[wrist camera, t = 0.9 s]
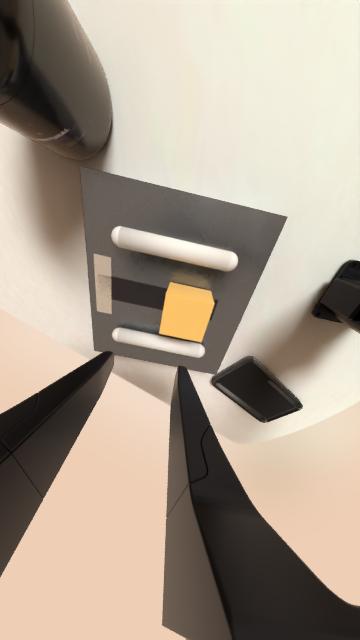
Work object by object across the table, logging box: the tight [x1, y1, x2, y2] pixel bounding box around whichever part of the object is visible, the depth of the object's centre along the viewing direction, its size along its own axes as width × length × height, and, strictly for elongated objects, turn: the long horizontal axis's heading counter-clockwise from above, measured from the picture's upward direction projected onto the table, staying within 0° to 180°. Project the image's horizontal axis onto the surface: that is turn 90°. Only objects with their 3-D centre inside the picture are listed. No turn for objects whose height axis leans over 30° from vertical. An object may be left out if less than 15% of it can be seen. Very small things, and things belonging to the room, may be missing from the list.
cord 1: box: [112, 328, 205, 358], centre depth 19 cm, size 11×2×2 cm, turn 79°
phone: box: [212, 356, 303, 423], centre depth 27 cm, size 8×1×15 cm
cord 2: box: [111, 226, 238, 271], centre depth 14 cm, size 11×2×2 cm, turn 79°
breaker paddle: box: [159, 282, 214, 342], centre depth 16 cm, size 4×4×3 cm
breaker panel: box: [80, 166, 287, 375], centre depth 18 cm, size 16×18×3 cm
